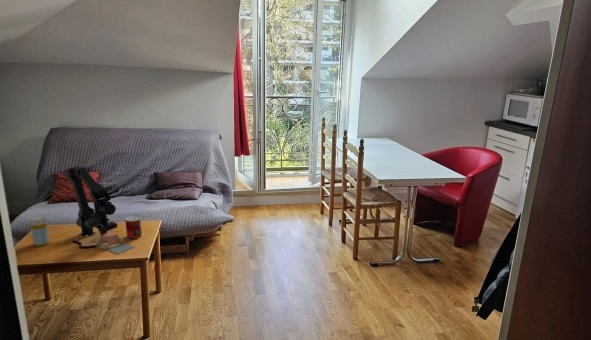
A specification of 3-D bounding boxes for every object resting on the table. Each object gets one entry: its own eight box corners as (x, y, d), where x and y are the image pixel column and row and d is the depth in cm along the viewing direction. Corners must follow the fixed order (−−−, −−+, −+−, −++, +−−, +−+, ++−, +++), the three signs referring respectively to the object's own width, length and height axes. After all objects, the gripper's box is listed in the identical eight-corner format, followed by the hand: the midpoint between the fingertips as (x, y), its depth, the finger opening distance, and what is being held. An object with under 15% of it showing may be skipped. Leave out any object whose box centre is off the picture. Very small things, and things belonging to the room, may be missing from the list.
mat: (107, 250, 214) (107, 249, 214) (124, 243, 222) (124, 243, 222) (117, 254, 209) (117, 253, 209) (134, 247, 218) (134, 246, 218)
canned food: (136, 239, 227) (135, 221, 224) (123, 238, 228) (122, 220, 226) (144, 234, 234) (143, 216, 231) (131, 233, 236) (130, 215, 233)
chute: (93, 244, 220) (92, 239, 219) (110, 238, 228) (109, 233, 228) (106, 250, 214) (106, 245, 213) (123, 243, 222) (123, 238, 222)
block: (100, 243, 220) (99, 235, 218) (111, 239, 225) (110, 231, 223) (107, 246, 217) (106, 237, 215) (117, 242, 222) (116, 233, 220)
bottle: (52, 242, 221) (48, 216, 217) (39, 247, 215) (35, 221, 211) (43, 240, 224) (39, 214, 220) (31, 245, 218) (26, 218, 214)
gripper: (75, 211, 217) (79, 238, 221) (97, 218, 207) (100, 247, 211) (95, 205, 226) (98, 231, 230) (116, 212, 216) (119, 239, 220)
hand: (103, 237), depth 223 cm, fingers closed
